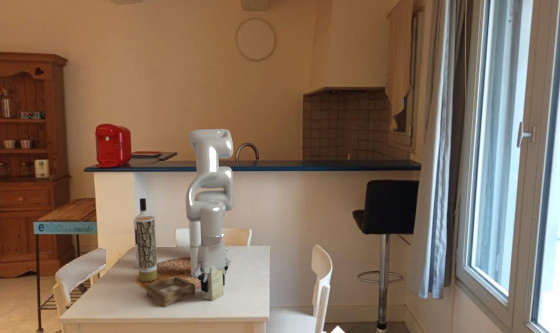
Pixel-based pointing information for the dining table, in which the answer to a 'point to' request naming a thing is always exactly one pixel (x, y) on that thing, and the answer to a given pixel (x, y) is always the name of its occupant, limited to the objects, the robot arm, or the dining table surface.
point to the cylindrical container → (194, 243)
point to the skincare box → (214, 284)
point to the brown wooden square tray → (170, 290)
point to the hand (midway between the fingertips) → (213, 287)
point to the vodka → (142, 214)
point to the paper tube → (146, 248)
